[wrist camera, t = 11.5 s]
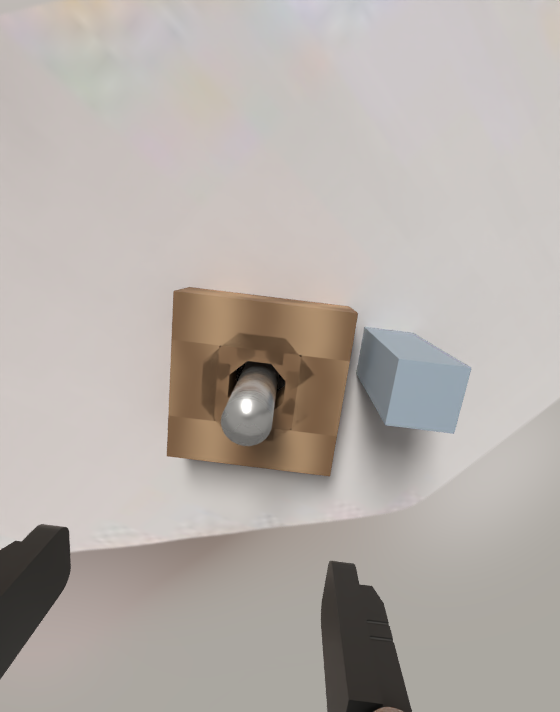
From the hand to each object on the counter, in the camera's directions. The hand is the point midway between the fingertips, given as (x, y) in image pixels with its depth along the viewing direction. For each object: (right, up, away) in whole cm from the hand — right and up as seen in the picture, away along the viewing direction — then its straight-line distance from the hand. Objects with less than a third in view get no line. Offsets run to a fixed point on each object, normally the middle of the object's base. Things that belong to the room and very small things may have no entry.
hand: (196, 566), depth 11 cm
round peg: (+1, +5, +20) cm, 20 cm away
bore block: (+1, +5, +20) cm, 20 cm away
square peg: (+11, +7, +19) cm, 23 cm away
